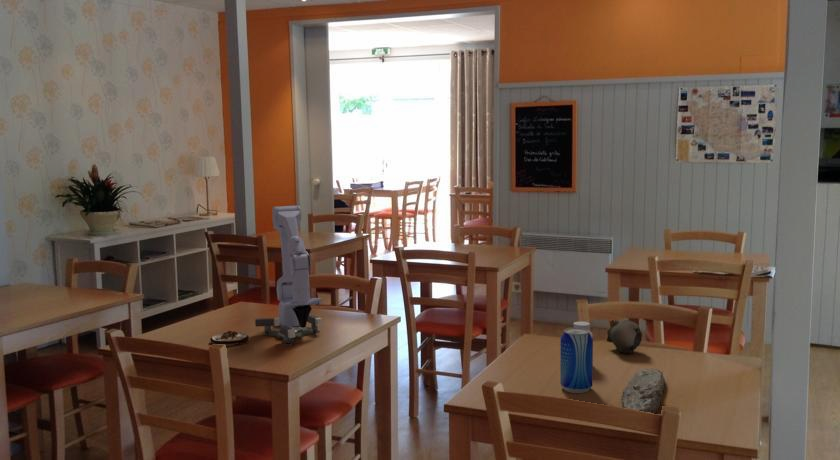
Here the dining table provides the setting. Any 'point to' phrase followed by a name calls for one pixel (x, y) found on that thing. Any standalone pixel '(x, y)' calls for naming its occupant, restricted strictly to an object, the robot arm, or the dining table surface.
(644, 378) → the elongated rock
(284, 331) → the two-tone rectangular bar
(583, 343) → the beer can
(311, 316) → the post
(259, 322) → the footscrew rear
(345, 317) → the dining table surface
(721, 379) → the dining table surface
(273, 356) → the dining table surface
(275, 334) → the levelling base
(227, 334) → the cream topped cake
